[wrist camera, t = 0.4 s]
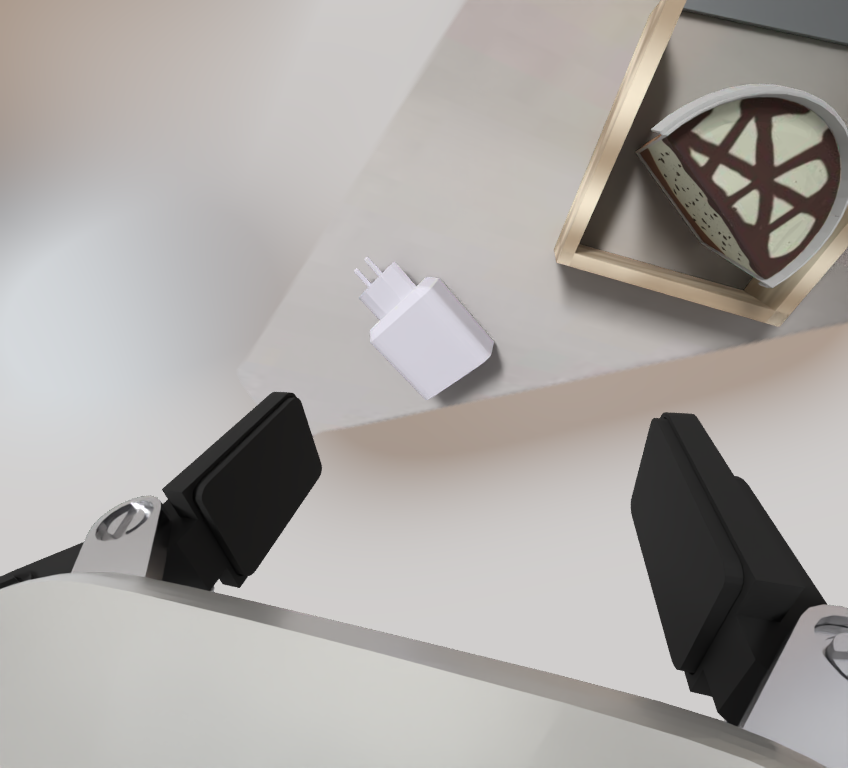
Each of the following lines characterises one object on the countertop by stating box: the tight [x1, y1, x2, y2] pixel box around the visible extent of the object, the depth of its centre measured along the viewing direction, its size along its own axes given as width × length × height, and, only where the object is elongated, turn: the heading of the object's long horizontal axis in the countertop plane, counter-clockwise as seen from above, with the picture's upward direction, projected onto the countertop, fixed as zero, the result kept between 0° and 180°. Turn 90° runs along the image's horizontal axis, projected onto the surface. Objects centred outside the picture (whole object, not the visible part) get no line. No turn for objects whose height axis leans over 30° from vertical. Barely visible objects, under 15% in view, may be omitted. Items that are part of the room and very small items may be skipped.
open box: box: [554, 0, 848, 327], centre depth 26 cm, size 16×17×5 cm
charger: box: [354, 257, 494, 400], centre depth 38 cm, size 5×9×15 cm
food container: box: [635, 84, 848, 288], centre depth 23 cm, size 12×6×10 cm, turn 47°
